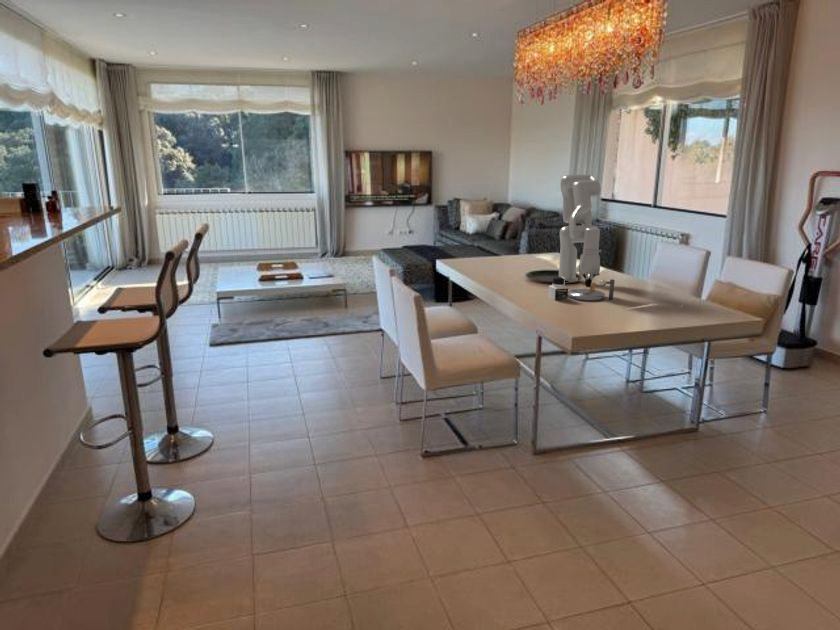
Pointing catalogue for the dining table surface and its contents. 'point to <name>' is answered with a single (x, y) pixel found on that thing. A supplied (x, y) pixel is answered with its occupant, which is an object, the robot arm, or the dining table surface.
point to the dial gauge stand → (611, 291)
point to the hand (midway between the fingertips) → (588, 286)
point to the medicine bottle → (558, 289)
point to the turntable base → (590, 301)
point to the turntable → (586, 294)
